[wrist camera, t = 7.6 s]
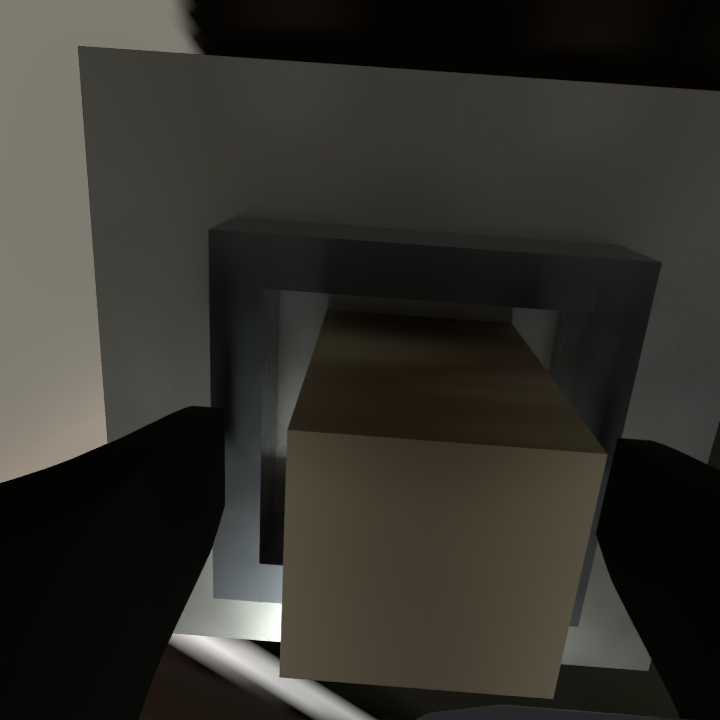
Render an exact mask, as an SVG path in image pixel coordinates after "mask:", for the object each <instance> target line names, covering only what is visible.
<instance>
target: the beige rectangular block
mask: <svg viewBox="0 0 720 720" xmlns="http://www.w3.org/2000/svg"><path fill="white" fill-rule="evenodd" d="M607 455H608V454H607V453H606V451H605V450H604V449H603V447H602V446H601V444H600V443H599V442H598V440H597V439H596V438H595V436H594V435H593V433H592V432H591V431H590V429H589V428H588V427H587V425H586V424H585V423H584V421H583V420H582V418H581V417H580V416H579V414H578V413H577V412H576V410H575V409H574V407H573V406H572V405H571V403H570V402H569V401H568V399H567V398H566V397H565V395H564V394H563V392H562V391H561V390H560V388H559V387H558V386H557V384H556V383H555V381H554V380H553V379H552V377H551V376H550V375H549V373H548V372H547V371H546V369H545V368H544V366H543V365H542V364H541V362H540V361H539V360H538V358H537V357H536V355H535V354H534V353H533V351H532V350H531V349H530V347H529V346H528V345H527V343H526V342H525V340H524V339H523V338H522V336H521V335H520V334H519V332H518V331H517V329H516V328H515V327H514V325H513V324H512V323H505V322H491V321H478V320H464V319H451V318H437V317H424V316H410V315H396V314H383V313H369V312H356V311H342V310H329V309H327V311H326V314H325V317H324V320H323V323H322V326H321V329H320V333H319V336H318V339H317V342H316V345H315V348H314V351H313V354H312V357H311V360H310V363H309V366H308V369H307V372H306V375H305V378H304V381H303V384H302V387H301V390H300V393H299V396H298V399H297V402H296V405H295V408H294V411H293V414H292V417H291V420H290V423H289V426H288V429H287V454H286V486H285V518H284V550H283V582H282V614H281V646H280V677H283V678H295V679H308V680H321V681H333V682H346V683H359V684H371V685H384V686H397V687H409V688H422V689H434V690H447V691H460V692H472V693H485V694H498V695H510V696H523V697H536V698H548V699H553V696H554V692H555V687H556V683H557V678H558V674H559V670H560V665H561V661H562V656H563V652H564V647H565V643H566V638H567V634H568V629H569V625H570V620H571V616H572V611H573V607H574V602H575V598H576V593H577V589H578V585H579V580H580V576H581V571H582V567H583V562H584V558H585V553H586V549H587V544H588V540H589V535H590V531H591V526H592V522H593V517H594V513H595V508H596V504H597V500H598V495H599V491H600V486H601V482H602V477H603V473H604V468H605V464H606V459H607Z"/></svg>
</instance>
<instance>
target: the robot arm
mask: <svg viewBox="0 0 720 720" xmlns="http://www.w3.org/2000/svg"><path fill="white" fill-rule="evenodd" d="M224 507H225V408H216V407H203V406H189V407H185V408H183V409H180V410H178V411H176V412H173V413H171V414H169V415H167V416H165V417H163V418H161V419H159V420H157V421H154V422H152V423H150V424H148V425H146V426H144V427H142V428H140V429H138V430H136V431H134V432H132V433H130V434H128V435H125V436H123V437H121V438H119V439H117V440H115V441H112V442H110V443H108V444H105V445H103V446H101V447H99V448H96V449H94V450H91V451H89V452H87V453H84V454H82V455H80V456H78V457H75V458H73V459H71V460H68V461H65V462H63V463H60V464H58V465H54V466H52V467H49V468H46V469H43V470H40V471H37V472H34V473H31V474H28V475H25V476H22V477H19V478H16V479H13V480H9V481H6V482H2V483H0V720H138V719H139V716H140V714H141V711H142V708H143V705H144V702H145V699H146V696H147V693H148V691H149V688H150V685H151V682H152V679H153V677H154V674H155V672H156V669H157V667H158V665H159V662H160V660H161V657H162V655H163V653H164V651H165V648H166V646H167V644H168V642H169V640H170V638H171V636H172V634H173V632H174V629H175V627H176V625H177V623H178V621H179V619H180V617H181V615H182V612H183V610H184V608H185V606H186V604H187V602H188V600H189V598H190V596H191V593H192V591H193V589H194V587H195V585H196V583H197V581H198V578H199V576H200V574H201V572H202V570H203V568H204V566H205V563H206V561H207V559H208V557H209V555H210V552H211V550H212V547H213V544H214V541H215V538H216V534H217V531H218V528H219V525H220V521H221V518H222V514H223V511H224ZM596 536H597V539H598V542H599V546H600V549H601V552H602V555H603V558H604V561H605V564H606V567H607V570H608V573H609V575H610V578H611V581H612V583H613V585H614V587H615V589H616V591H617V593H618V595H619V597H620V599H621V601H622V603H623V605H624V607H625V609H626V611H627V613H628V615H629V617H630V619H631V621H632V623H633V625H634V627H635V629H636V631H637V633H638V634H639V636H640V638H641V640H642V642H643V644H644V646H645V648H646V650H647V652H648V654H649V656H650V658H651V659H652V661H653V663H654V665H655V667H656V669H657V671H658V673H659V675H660V677H661V679H662V681H663V683H664V685H665V686H666V688H667V690H668V692H669V694H670V696H671V699H672V701H673V703H674V705H675V707H676V709H677V712H678V714H679V716H680V718H681V719H676V718H663V717H651V716H638V715H625V714H613V713H600V712H588V711H575V710H563V709H550V708H537V707H525V706H512V705H493V706H484V707H476V708H468V709H459V710H451V711H442V712H434V713H428V714H426V715H424V716H422V717H421V718H419V719H417V720H720V470H718V469H716V468H713V467H711V466H709V465H707V464H705V463H703V462H701V461H699V460H697V459H695V458H693V457H691V456H689V455H687V454H685V453H683V452H680V451H678V450H676V449H674V448H671V447H669V446H666V445H664V444H661V443H658V442H655V441H652V440H640V439H626V438H617V442H616V447H615V451H614V455H613V460H612V464H611V469H610V473H609V477H608V482H607V486H606V491H605V495H604V499H603V504H602V508H601V513H600V517H599V521H598V526H597V530H596Z"/></svg>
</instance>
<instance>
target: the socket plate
mask: <svg viewBox="0 0 720 720" xmlns="http://www.w3.org/2000/svg"><path fill="white" fill-rule="evenodd" d="M78 54H79V66H80V81H81V94H82V107H83V120H84V134H85V145H86V146H85V147H86V159H87V160H86V161H87V174H88V186H89V200H90V214H91V228H92V239H93V240H92V241H93V254H94V268H95V280H96V294H97V307H98V320H99V334H100V348H101V361H102V375H103V388H104V401H105V414H106V428H107V441H108V443H110V442H112V441H115V440H117V439H119V438H121V437H123V436H125V435H128V434H130V433H132V432H134V431H136V430H138V429H140V428H142V427H144V426H146V425H148V424H150V423H152V422H154V421H157V420H159V419H161V418H163V417H165V416H167V415H169V414H171V413H173V412H176V411H178V410H180V409H183V408H185V407H189V406H203V407H216V408H225V507H224V511H223V514H222V518H221V521H220V525H219V528H218V531H217V534H216V538H215V541H214V544H213V547H212V550H211V552H210V555H209V557H208V559H207V561H206V563H205V566H204V568H203V570H202V572H201V574H200V576H199V578H198V581H197V583H196V585H195V587H194V589H193V591H192V593H191V596H190V598H189V600H188V602H187V604H186V606H185V608H184V610H183V612H182V615H181V617H180V619H179V621H178V623H177V625H176V627H175V629H174V632H173V633H175V634H188V635H200V636H213V637H226V638H238V639H251V640H264V641H276V642H281V614H282V582H283V550H284V518H285V486H286V454H287V429H288V426H289V423H290V420H291V417H292V414H293V411H294V408H295V405H296V402H297V399H298V396H299V393H300V390H301V387H302V384H303V381H304V378H305V375H306V372H307V369H308V366H309V363H310V360H311V357H312V354H313V351H314V348H315V345H316V342H317V339H318V336H319V333H320V329H321V326H322V323H323V320H324V317H325V314H326V311H327V309H329V310H342V311H356V312H369V313H383V314H396V315H410V316H424V317H437V318H451V319H464V320H478V321H491V322H505V323H512V324H513V325H514V327H515V328H516V329H517V331H518V332H519V334H520V335H521V336H522V338H523V339H524V340H525V342H526V343H527V345H528V346H529V347H530V349H531V350H532V351H533V353H534V354H535V355H536V357H537V358H538V360H539V361H540V362H541V364H542V365H543V366H544V368H545V369H546V371H547V372H548V373H549V375H550V376H551V377H552V379H553V380H554V381H555V383H556V384H557V386H558V387H559V388H560V390H561V391H562V392H563V394H564V395H565V397H566V398H567V399H568V401H569V402H570V403H571V405H572V406H573V407H574V409H575V410H576V412H577V413H578V414H579V416H580V417H581V418H582V420H583V421H584V423H585V424H586V425H587V427H588V428H589V429H590V431H591V432H592V433H593V435H594V436H595V438H596V439H597V440H598V442H599V443H600V444H601V446H602V447H603V449H604V450H605V451H606V453H607V454H608V455H607V459H606V464H605V468H604V473H603V477H602V482H601V486H600V491H599V495H598V500H597V504H596V508H595V513H594V517H593V522H592V526H591V531H590V535H589V540H588V544H587V549H586V553H585V558H584V562H583V567H582V571H581V576H580V580H579V585H578V589H577V593H576V598H575V602H574V607H573V611H572V616H571V620H570V625H569V629H568V634H567V638H566V643H565V647H564V652H563V656H562V661H561V664H568V665H581V666H593V667H606V668H619V669H631V670H644V671H648V670H649V666H650V663H651V658H650V656H649V654H648V652H647V650H646V648H645V646H644V644H643V642H642V640H641V638H640V636H639V634H638V633H637V631H636V629H635V627H634V625H633V623H632V621H631V619H630V617H629V615H628V613H627V611H626V609H625V607H624V605H623V603H622V601H621V599H620V597H619V595H618V593H617V591H616V589H615V587H614V585H613V583H612V581H611V578H610V575H609V573H608V570H607V567H606V564H605V561H604V558H603V555H602V552H601V549H600V546H599V542H598V539H597V536H596V530H597V526H598V521H599V517H600V513H601V508H602V504H603V499H604V495H605V491H606V486H607V482H608V477H609V473H610V469H611V464H612V460H613V455H614V451H615V447H616V442H617V438H626V439H640V440H652V441H655V442H658V443H661V444H664V445H666V446H669V447H671V448H674V449H676V450H678V451H680V452H683V453H685V454H687V455H689V456H691V457H693V458H695V459H697V460H699V461H701V462H703V463H705V464H707V463H708V459H709V456H710V452H711V449H712V445H713V442H714V438H715V435H716V431H717V428H718V424H719V421H720V91H709V90H694V89H680V88H666V87H652V86H638V85H624V84H609V83H595V82H581V81H567V80H553V79H538V78H524V77H510V76H496V75H482V74H468V73H453V72H439V71H425V70H411V69H397V68H383V67H368V66H354V65H340V64H326V63H312V62H298V61H283V60H269V59H255V58H241V57H227V56H213V55H198V54H184V53H170V52H156V51H142V50H128V49H113V48H99V47H85V46H78Z"/></svg>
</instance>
